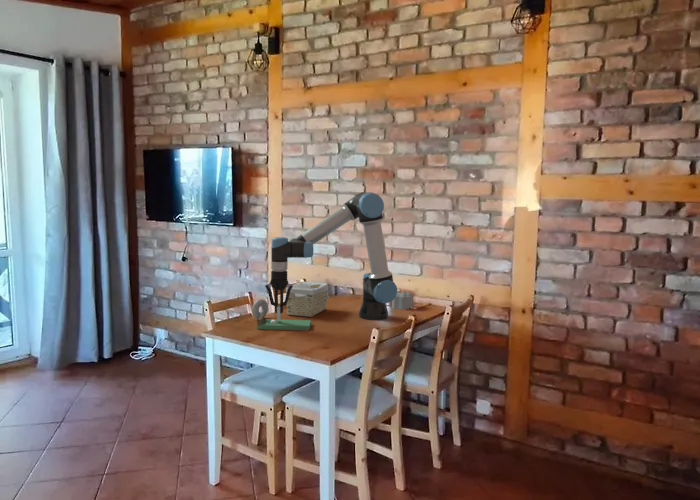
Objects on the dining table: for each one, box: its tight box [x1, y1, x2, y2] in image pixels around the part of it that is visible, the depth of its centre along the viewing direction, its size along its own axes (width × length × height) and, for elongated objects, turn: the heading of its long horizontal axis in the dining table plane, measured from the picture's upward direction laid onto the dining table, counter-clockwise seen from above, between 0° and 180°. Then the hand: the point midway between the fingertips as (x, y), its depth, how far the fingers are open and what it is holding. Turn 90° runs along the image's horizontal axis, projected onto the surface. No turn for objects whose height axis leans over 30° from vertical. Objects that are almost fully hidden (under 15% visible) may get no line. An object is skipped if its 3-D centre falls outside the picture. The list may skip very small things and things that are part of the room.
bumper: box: [256, 314, 266, 326], centre depth 271 cm, size 2×12×2 cm, turn 0°
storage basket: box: [285, 281, 329, 318], centre depth 304 cm, size 24×16×15 cm
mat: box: [256, 318, 312, 331], centre depth 272 cm, size 24×12×2 cm, turn 90°
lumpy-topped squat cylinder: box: [391, 290, 414, 310], centre depth 323 cm, size 10×13×9 cm
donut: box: [251, 298, 269, 320], centre depth 286 cm, size 10×3×10 cm, turn 144°
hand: (278, 319), depth 271 cm, fingers closed
